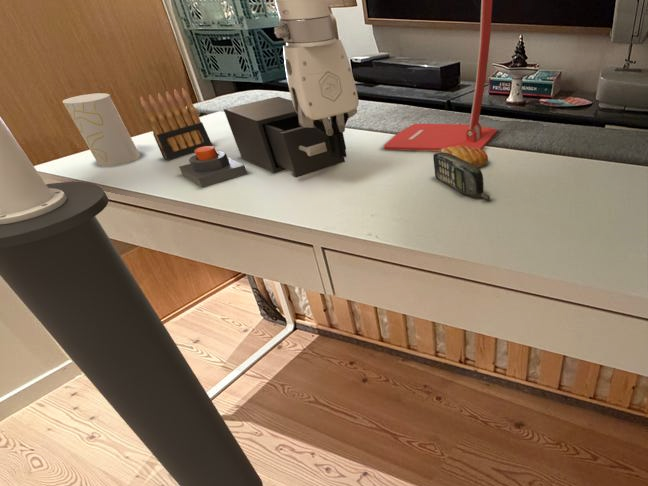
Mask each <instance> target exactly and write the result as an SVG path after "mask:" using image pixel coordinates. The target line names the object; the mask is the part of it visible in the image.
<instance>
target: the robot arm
mask: <svg viewBox="0 0 648 486" xmlns="http://www.w3.org/2000/svg"><path fill="white" fill-rule="evenodd" d="M274 3H275V7H276V10H277V15H278V19H279V20H278V22H279V25H278V26H275V27H273V28H274V29H273V32H274V34H275V37H276V38H277V39H283V41H284V42H285V45H282V49H283V61H284V68H285V69H284V70H285V76H286V80H287V85H288V91H289V95H290V98H291V99H290V100H292V102H293V106H294V109H295V111H296V113H297V114H298V117H299V124H300V126H303V127H308V128H316V129H317V130H318V131H319V132H320V133H323V137H324V141H325V145H326V149H327V152H328V153H329V154H330V156H331V157H334V158H337V159H341V157H343V158H344V159H345V158H347V145H346V141H345V136H344V133H345V131H346V124H347V123H348V120H349V119H350V118H352V117H353V116H356V114H357V113H358V109H357V108H358V107H359V105H360V103H359V102H360V101H359V95H358V90H357V86H356V82H355V78H354V74H353V71H352V67H351V64H350V60H349V58H348V55H347V53H346V52H347V51H346V50H345V47H344V44H343V42H342V40H341V39H339V38H338V39H337V38H336V33H335V28H334V23H333V19H332V15H331V8H330V5H329V0H274ZM329 119H330V121H329ZM46 184H47V183H46V182H45V180H44V178H42V176H41V174H39V172H38V170H37V169H36V167H35V166H34V164H33V163H32V161H31V160H30V159H29V157H28V156H27V154H26V152H25V151H24V150H23V148H22V147H21V145H20V143H19V141H17V139H16V137H15V136H14V134H13V133H12V131H11V130H10V129H9V127H8V126H7V124H6V123H5V122H4V120H3V118H2V117H1V116H0V225H3V224H10V223H16V222H20V221H25V220H28V219H32V218H35V217H38V216H41V215H44V214H46V213H49V212H51V211H53V210H55V209H57V208H59V207H60V206H62V205H63V204H64V203H65V202H66V200H67V197H66V195H65V194H64V192H63V191H61V190H59V189H54V188H48V187H47V185H46Z"/></svg>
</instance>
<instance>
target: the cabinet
mask: <svg viewBox="0 0 648 486" xmlns="http://www.w3.org/2000/svg"><path fill="white" fill-rule="evenodd" d="M223 113H224V114H225V117H226V120H227V122H228V125H229V128H230V130H231V133H232V136H233V139H234V141H235V144H236V147H237V149H238V152H239V154H240V157H241V159H243V160H245V161H247V162H249V163H251V164H253V165H255V166H257V167H259V168H262V169H263V170H265V171H267V172H270V173H272V174H278V173H280V172H284V171H287V169H285V168H283V167H280V166H278V165H276V164H275V163H274V160H273V157H272V154H271V151H270V148H269V145H268V142H267V138H266V135H265V132H264V129H263V126H262V124H266V123H270V122H274V121H278V120H282V119H286V118H290V117H294V116H298V114H297V113H296V111H295V109H294V106H293V102H292V99H288V98H284V97H281V96H275V97H271V98H266V99H261V100H257V101H253V102H248V103H243V104H239V105H238V104H237V105H235V106H230V107H229V106H228V107H225V108H223Z"/></svg>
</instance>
